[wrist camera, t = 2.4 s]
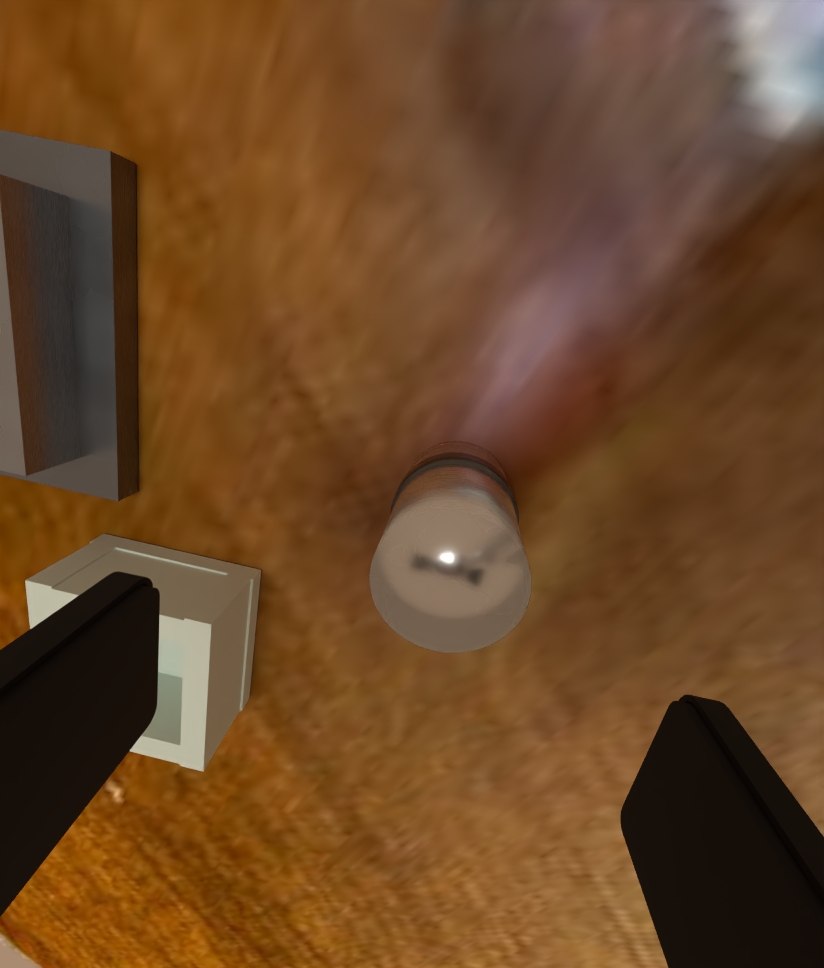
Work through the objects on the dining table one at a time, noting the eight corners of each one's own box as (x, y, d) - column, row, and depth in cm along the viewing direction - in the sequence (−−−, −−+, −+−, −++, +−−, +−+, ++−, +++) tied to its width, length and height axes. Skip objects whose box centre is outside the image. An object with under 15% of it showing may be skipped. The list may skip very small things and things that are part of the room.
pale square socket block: (261, 569, 20) (213, 625, 17) (249, 698, 23) (205, 772, 19) (104, 533, 21) (22, 579, 17) (108, 663, 23) (38, 729, 19)
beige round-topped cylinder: (523, 451, 17) (557, 528, 11) (495, 550, 19) (510, 672, 12) (413, 428, 18) (380, 489, 11) (393, 528, 19) (353, 635, 12)
